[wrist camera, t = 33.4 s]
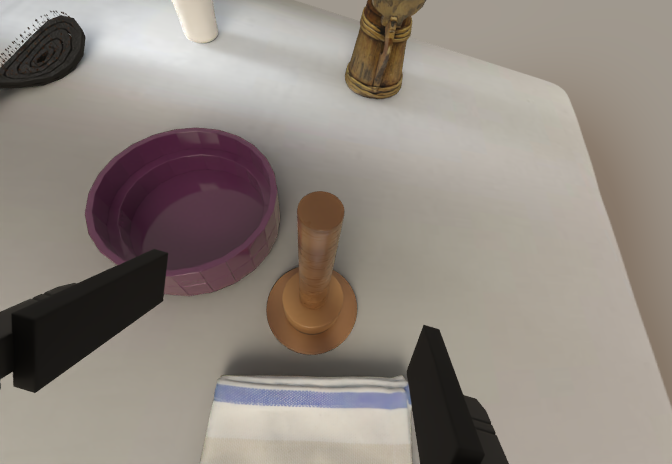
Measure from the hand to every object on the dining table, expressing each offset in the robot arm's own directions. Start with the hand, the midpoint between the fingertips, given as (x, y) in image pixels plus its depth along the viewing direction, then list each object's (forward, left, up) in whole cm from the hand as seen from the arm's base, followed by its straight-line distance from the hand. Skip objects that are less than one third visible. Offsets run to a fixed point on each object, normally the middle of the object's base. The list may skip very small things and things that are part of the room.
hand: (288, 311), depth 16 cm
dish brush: (+3, +3, -16) cm, 16 cm away
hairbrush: (-20, +49, -16) cm, 55 cm away
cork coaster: (+4, +4, -16) cm, 17 cm away
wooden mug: (+27, +31, -17) cm, 44 cm away
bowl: (-3, +18, -16) cm, 24 cm away
